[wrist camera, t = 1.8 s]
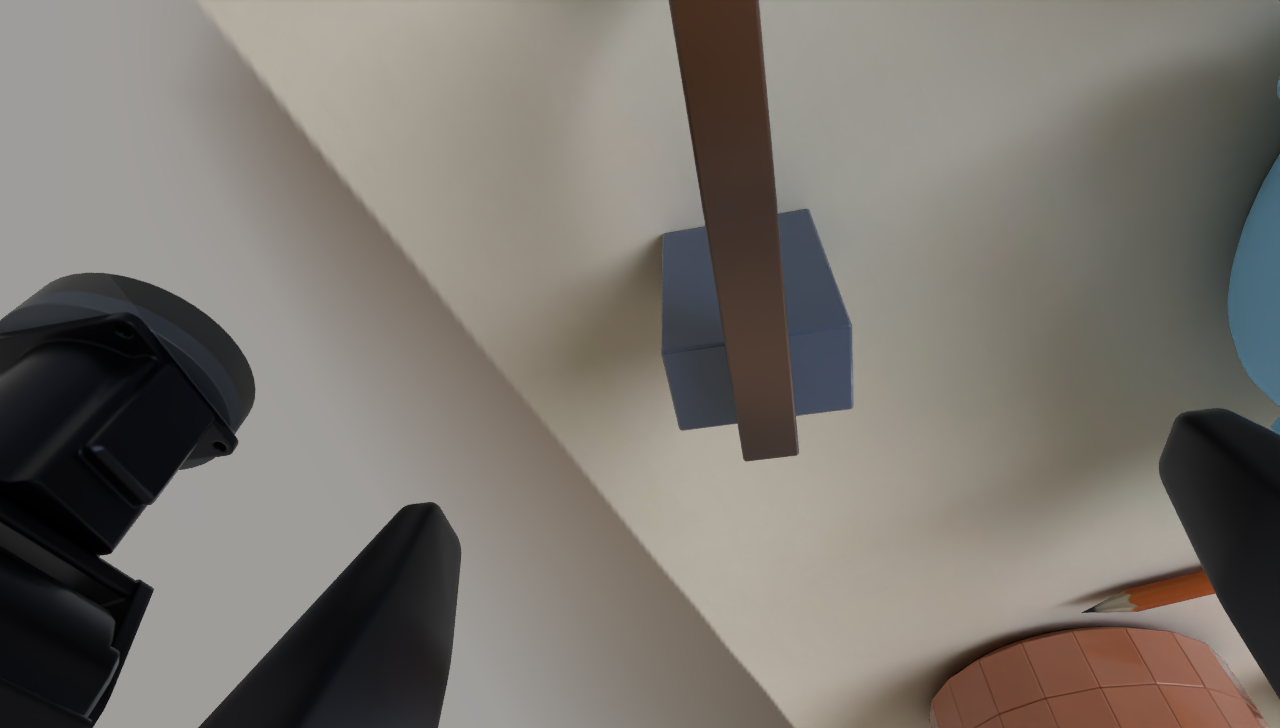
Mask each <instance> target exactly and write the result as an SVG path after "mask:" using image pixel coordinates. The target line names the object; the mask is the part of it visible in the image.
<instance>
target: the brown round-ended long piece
mask: <svg viewBox="0 0 1280 728" xmlns="http://www.w3.org/2000/svg"><path fill="white" fill-rule="evenodd" d="M669 5H670V11H671V17H672V23H673V29H674V36H675V42H676V48H677V54H678V60H679V66H680V72H681V79H682V85H683V91H684V97H685V103H686V109H687V115H688V122H689V128H690V134H691V140H692V146H693V152H694V158H695V165H696V171H697V177H698V183H699V189H700V195H701V201H702V208H703V214H704V220H705V226H706V232H707V238H708V244H709V251H710V257H711V263H712V269H713V275H714V281H715V287H716V294H717V300H718V306H719V312H720V318H721V324H722V331H723V337H724V343H725V349H726V355H727V361H728V367H729V374H730V380H731V386H732V392H733V398H734V404H735V410H736V417H737V423H738V429H739V435H740V441H741V447H742V453H743V459H744V460H745V461H754V460H763V459H771V458H779V457H788V456H796V455H798V454H799V446H798V435H797V423H796V412H795V401H794V390H793V379H792V367H791V356H790V345H789V334H788V323H787V311H786V300H785V289H784V278H783V267H782V255H781V244H780V233H779V222H778V211H777V199H776V188H775V177H774V166H773V155H772V143H771V132H770V121H769V110H768V99H767V88H766V76H765V65H764V54H763V43H762V32H761V20H760V9H759V0H669Z"/></svg>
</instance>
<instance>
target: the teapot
mask: <svg viewBox="0 0 1280 728" xmlns="http://www.w3.org/2000/svg"><path fill="white" fill-rule="evenodd" d="M1277 94H1278V96H1279V99H1280V78H1279V80H1278V86H1277ZM1227 304H1228V317H1229V328H1230V331H1231V334H1232V337H1233V340H1234V344H1235V347H1236V350H1237V353H1238V356H1239V359H1240V362H1241V364H1242V365H1243V367H1244V368H1245V370H1246V372H1247V373H1248V375H1249V377H1250V378H1251V380H1252V381H1253V382H1254V383H1255V384H1256V385H1257V386H1258V387H1259V388H1260V389H1261V390H1262V391H1263V392H1264V393H1265V394H1266V395H1267V396H1268V397H1269V398H1270V399H1271V400H1272V401H1273V402H1275V403H1276V404H1277V405H1278V406H1279V407H1280V154H1279V156H1278V157H1277V159H1276V161H1275V163H1274V164H1273V166H1272V168H1271V169H1270V171H1269V173H1268V174H1267V176H1266V178H1265V179H1264V182H1263V184H1262V186H1261V188H1260V190H1259V192H1258V194H1257V197H1256V199H1255V201H1254V203H1253V205H1252V208H1251V210H1250V212H1249V214H1248V217H1247V219H1246V221H1245V224H1244V228H1243V231H1242V234H1241V237H1240V241H1239V244H1238V247H1237V251H1236V254H1235V258H1234V261H1233V266H1232V271H1231V276H1230V284H1229V293H1228V301H1227ZM1271 427H1272V430H1273V432H1275V433H1277V434H1279V435H1280V417H1279V418H1278V419H1277V420H1276V421H1275V423H1274V424H1273V425H1272V426H1271Z"/></svg>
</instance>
